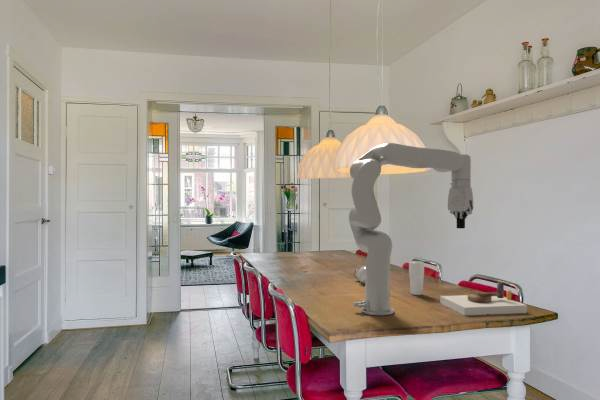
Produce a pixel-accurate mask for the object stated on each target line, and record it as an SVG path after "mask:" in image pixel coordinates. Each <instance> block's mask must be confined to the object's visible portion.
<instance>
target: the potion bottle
mask: <svg viewBox="0 0 600 400" xmlns="http://www.w3.org/2000/svg"><path fill="white" fill-rule="evenodd" d="M353 278H355V279H357V280H358V281H359V282H361V283H362V284H364V285H365V265H363V266H361V267H360V268H356V269H355V270H354V274H353Z"/></svg>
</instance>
